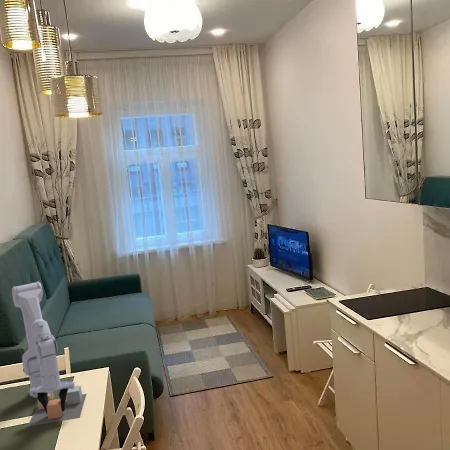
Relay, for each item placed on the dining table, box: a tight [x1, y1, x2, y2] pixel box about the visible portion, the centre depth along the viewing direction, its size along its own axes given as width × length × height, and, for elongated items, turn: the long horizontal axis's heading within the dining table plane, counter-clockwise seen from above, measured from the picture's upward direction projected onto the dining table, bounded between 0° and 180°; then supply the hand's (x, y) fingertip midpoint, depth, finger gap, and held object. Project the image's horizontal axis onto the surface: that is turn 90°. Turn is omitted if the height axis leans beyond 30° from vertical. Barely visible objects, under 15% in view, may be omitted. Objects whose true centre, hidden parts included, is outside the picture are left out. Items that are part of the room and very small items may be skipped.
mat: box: [26, 393, 87, 428], centre depth 169 cm, size 18×17×1 cm
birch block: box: [36, 392, 55, 410], centre depth 173 cm, size 4×4×4 cm
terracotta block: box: [47, 398, 64, 419], centre depth 165 cm, size 4×4×4 cm
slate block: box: [66, 384, 83, 405], centre depth 174 cm, size 4×4×4 cm
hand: (55, 411), depth 165 cm, fingers closed on terracotta block, 4 cm apart
